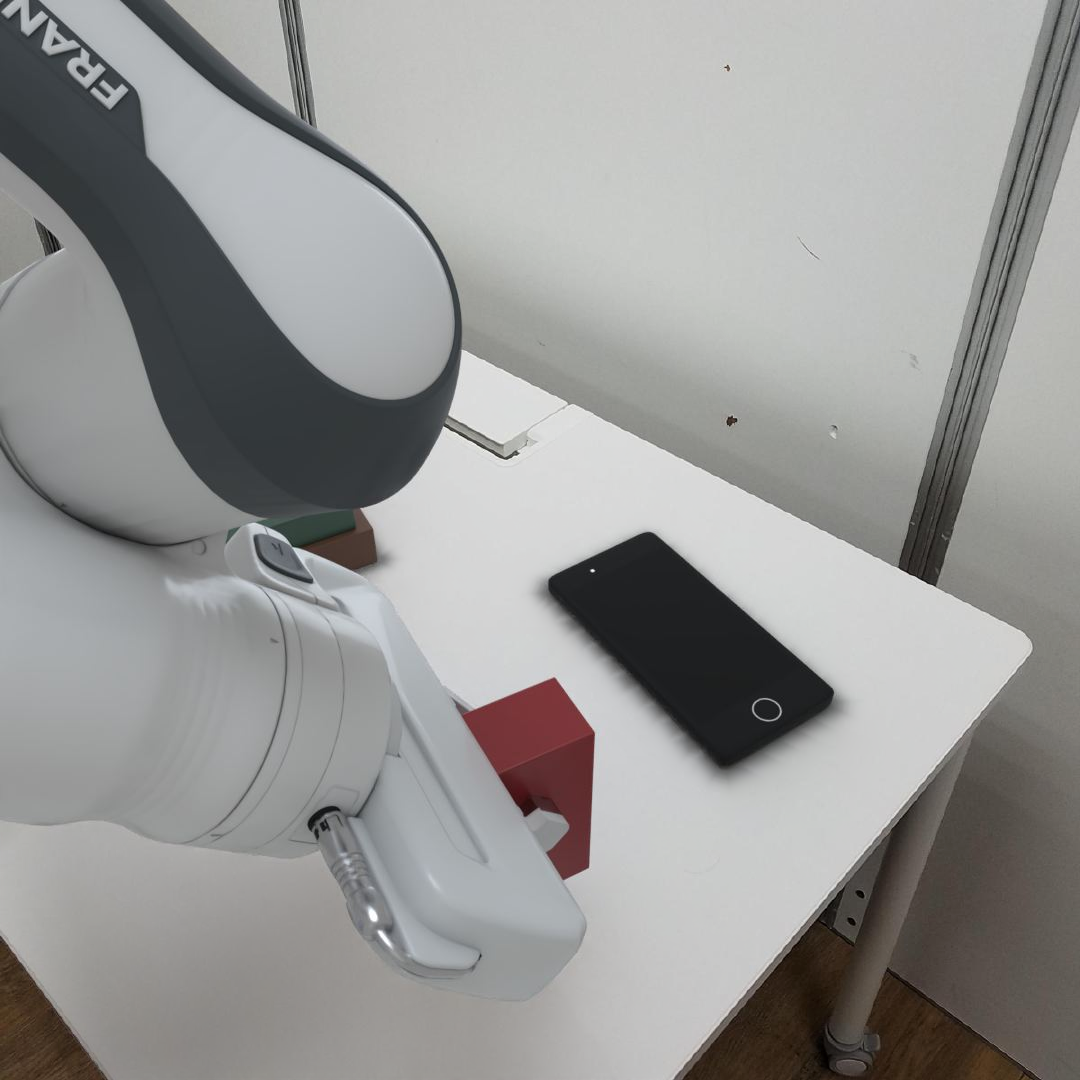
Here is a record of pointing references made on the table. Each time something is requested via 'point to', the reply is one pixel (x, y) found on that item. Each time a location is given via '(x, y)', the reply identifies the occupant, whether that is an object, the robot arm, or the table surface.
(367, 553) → the book pile
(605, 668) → the table surface
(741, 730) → the cell phone
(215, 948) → the table surface
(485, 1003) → the table surface
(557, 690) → the upright red rectangular block
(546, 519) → the table surface
